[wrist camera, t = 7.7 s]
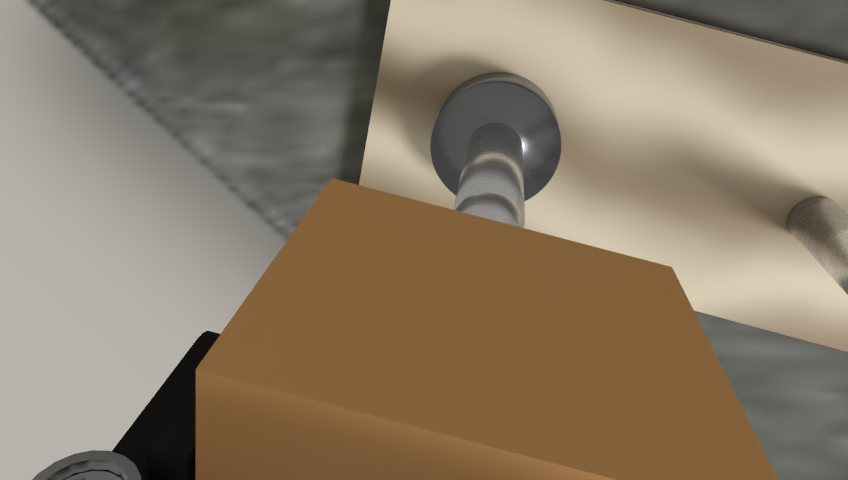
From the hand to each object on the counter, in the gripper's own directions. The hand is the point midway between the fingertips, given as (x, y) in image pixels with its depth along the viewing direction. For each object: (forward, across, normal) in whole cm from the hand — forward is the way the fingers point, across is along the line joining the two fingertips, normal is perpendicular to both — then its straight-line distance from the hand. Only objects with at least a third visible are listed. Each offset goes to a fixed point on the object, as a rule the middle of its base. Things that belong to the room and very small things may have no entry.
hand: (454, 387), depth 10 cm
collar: (+1, 0, 0) cm, 1 cm away
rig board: (+16, -8, 0) cm, 18 cm away
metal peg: (+15, 0, 0) cm, 15 cm away
